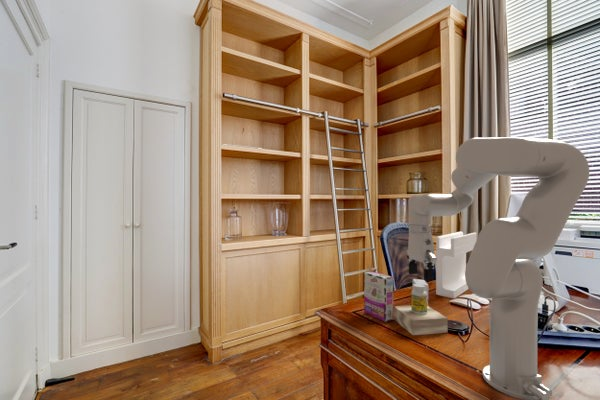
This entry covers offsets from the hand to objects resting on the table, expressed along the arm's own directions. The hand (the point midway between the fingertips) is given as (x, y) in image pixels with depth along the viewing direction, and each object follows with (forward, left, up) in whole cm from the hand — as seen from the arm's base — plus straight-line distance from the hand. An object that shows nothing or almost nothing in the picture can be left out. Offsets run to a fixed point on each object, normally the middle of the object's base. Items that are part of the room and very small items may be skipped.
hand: (420, 276), depth 104 cm
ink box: (+15, -9, -18) cm, 25 cm away
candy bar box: (+11, +11, -18) cm, 24 cm away
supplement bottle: (+1, 0, -13) cm, 13 cm away
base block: (+1, 0, -18) cm, 18 cm away
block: (+38, -45, -18) cm, 61 cm away
